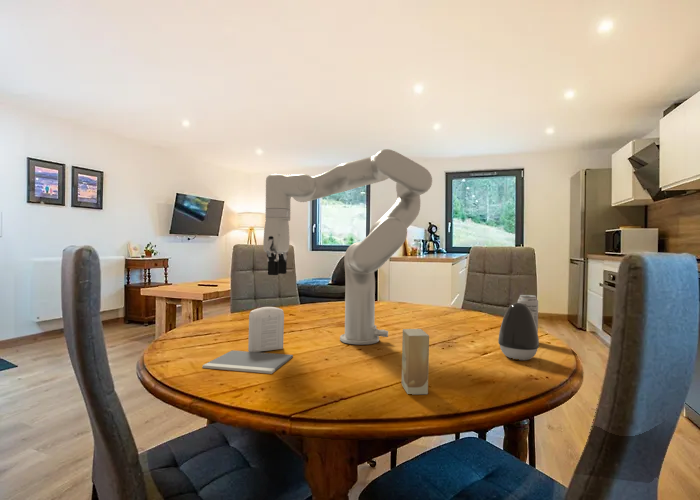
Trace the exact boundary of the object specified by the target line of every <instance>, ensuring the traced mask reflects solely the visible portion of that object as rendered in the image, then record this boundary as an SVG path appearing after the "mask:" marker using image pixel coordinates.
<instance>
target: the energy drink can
mask: <svg viewBox="0 0 700 500" xmlns="http://www.w3.org/2000/svg"><path fill="white" fill-rule="evenodd" d="M517 303H523V304H526V305H527V307H528V308H529V310H530V311H531V313H532V316H533V318H534V321H535V325H536V328H537V333H538V334H539V331H538V330H539V300H538V299H537V296H536V295H532V294H519V297H518V299H517Z"/></svg>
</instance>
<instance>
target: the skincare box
mask: <svg viewBox="0 0 700 500" xmlns="http://www.w3.org/2000/svg"><path fill="white" fill-rule="evenodd" d="M401 343H402V345H401V346H402V350H401V351H402V353H401V357H402V358H401V385H402V387H403V389H404V390H405V392H406V394H407V395H408V394H412V395H428V394H429V365H430V363H429V357H430V356H429V355H430V335H429V334H428V333H426V331H424V330H423V329H422V328H402V342H401Z"/></svg>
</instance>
